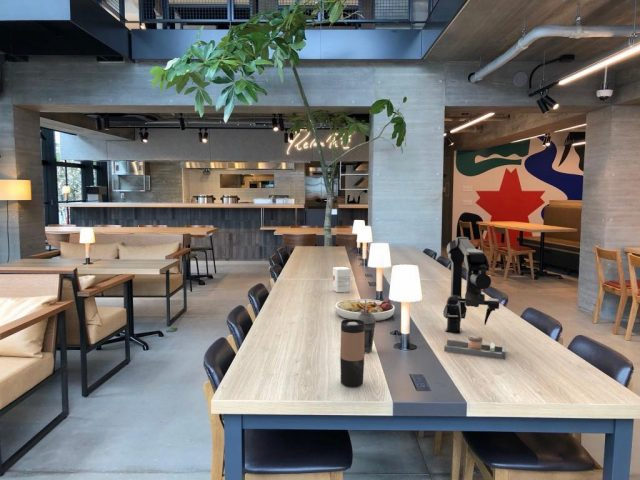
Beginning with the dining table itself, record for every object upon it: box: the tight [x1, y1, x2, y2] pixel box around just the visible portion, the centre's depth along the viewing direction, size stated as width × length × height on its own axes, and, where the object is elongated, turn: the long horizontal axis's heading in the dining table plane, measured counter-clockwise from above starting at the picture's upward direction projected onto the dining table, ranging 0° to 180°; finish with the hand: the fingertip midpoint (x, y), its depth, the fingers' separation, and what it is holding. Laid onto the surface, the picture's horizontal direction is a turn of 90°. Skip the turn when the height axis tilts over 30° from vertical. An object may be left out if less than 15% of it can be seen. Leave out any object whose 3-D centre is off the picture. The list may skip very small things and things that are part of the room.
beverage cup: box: [358, 300, 377, 354], centre depth 174 cm, size 7×7×20 cm
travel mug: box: [339, 319, 365, 388], centre depth 144 cm, size 8×8×20 cm
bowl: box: [334, 298, 396, 322], centre depth 229 cm, size 30×30×8 cm
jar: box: [467, 335, 483, 350], centre depth 175 cm, size 5×5×6 cm
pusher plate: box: [489, 342, 496, 352], centre depth 173 cm, size 6×2×3 cm, turn 157°
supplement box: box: [332, 266, 351, 293], centre depth 286 cm, size 9×9×15 cm
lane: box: [443, 339, 507, 360], centre depth 176 cm, size 9×22×3 cm, turn 67°
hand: (472, 323), depth 176 cm, fingers open, 9 cm apart
